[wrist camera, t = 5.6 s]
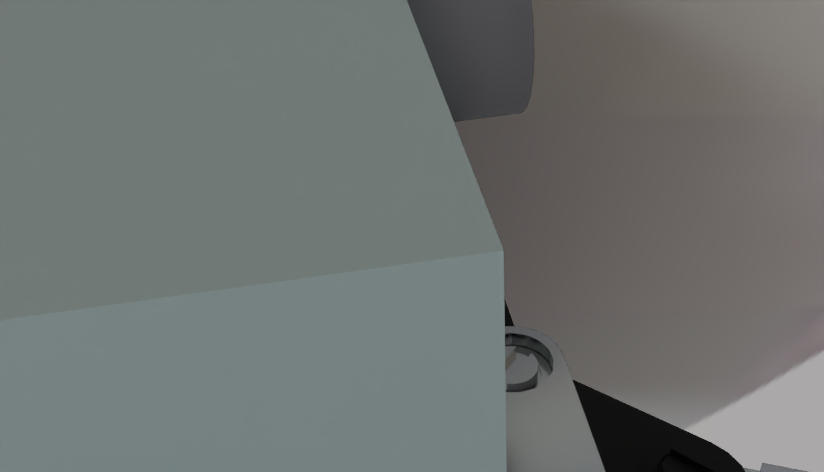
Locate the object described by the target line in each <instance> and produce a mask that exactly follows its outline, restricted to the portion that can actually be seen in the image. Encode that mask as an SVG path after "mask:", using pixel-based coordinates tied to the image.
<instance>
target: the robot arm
mask: <svg viewBox="0 0 824 472" xmlns="http://www.w3.org/2000/svg"><path fill="white" fill-rule="evenodd" d="M504 302H505V299H504ZM505 386H506V470H507V472H807V471H802V470H797V469H791V468H786V467H781V466H776V465H771V464H766V463H762V466H761V469H760V471H757V470H752V469H747V468H743V467H742V466H741V465H740V464H739V463H738V462H737V461H736V460H735V459H734V458H733V457H732V456H731V455H730V454H729V453H728V452H726V451H725V450H723V449H721V448H719V447H718V446H716V445H714V444H713V443H711V442H709V441H706V440H704V439H702V438H700V437H698V436H696V435H693V434H691V433H689V432H687V431H685V430H682V429H680V428H678V427H676V426H674V425H671V424H669V423H667V422H665V421H663V420H660V419H658V418H656V417H654V416H652V415H649V414H647V413H645V412H643V411H641V410H638V409H636V408H634V407H632V406H630V405H627V404H625V403H623V402H621V401H619V400H616V399H614V398H612V397H610V396H607V395H605V394H603V393H601V392H599V391H596V390H594V389H592V388H590V387H588V386H585V385H583V384H581V383H579V382H577V381H574V380H572V377H571V374H570V372H569V369H568V366H567V363H566V361H565V358H564V355H563V353H562V352H561V350H560V348H559V347H558V345H557V344H556V343H555V342H554V341H552V340H551V339H550V338H549V337H548V336H546V335H544V334H542V333H540V332H538V331H536V330H533V329H529V328H524V327H519V326H514V324H513V321H512V319H511V316H510V313H509V310H508V307H507V304H506V302H505Z"/></svg>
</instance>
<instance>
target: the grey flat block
mask: <svg viewBox="0 0 824 472" xmlns="http://www.w3.org/2000/svg"><path fill="white" fill-rule="evenodd" d="M533 70H534V29H533V15H532V5H531V0H0V472H507V470H506V386H505V302H504V249H503V247H502V244H501V242H500V239H499V237H498V234H497V231H496V229H495V226H494V224H493V221H492V219H491V216H490V213H489V211H488V208H487V206H486V203H485V201H484V198H483V195H482V193H481V190H480V188H479V185H478V182H477V180H476V177H475V175H474V172H473V170H472V167H471V164H470V162H469V159H468V157H467V154H466V152H465V149H464V146H463V144H462V141H461V139H460V136H459V134H458V131H457V128H456V126H455V123H454V122H455V121H462V120H470V119H478V118H486V117H493V116H501V115H509V114H517V113H522V112H523V111H524V110H525V109H526V107H527V105H528V102H529V99H530V94H531V89H532V82H533Z"/></svg>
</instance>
